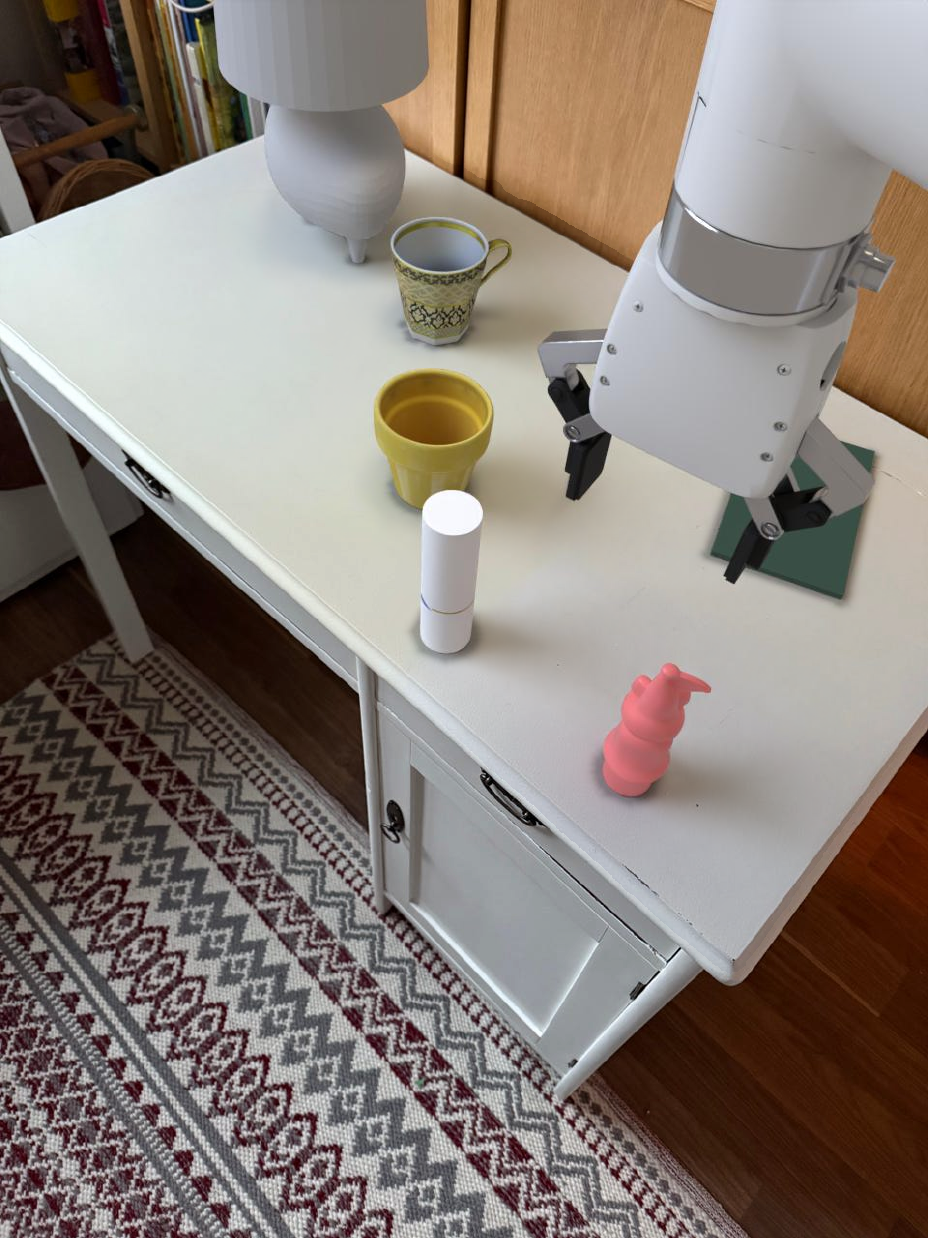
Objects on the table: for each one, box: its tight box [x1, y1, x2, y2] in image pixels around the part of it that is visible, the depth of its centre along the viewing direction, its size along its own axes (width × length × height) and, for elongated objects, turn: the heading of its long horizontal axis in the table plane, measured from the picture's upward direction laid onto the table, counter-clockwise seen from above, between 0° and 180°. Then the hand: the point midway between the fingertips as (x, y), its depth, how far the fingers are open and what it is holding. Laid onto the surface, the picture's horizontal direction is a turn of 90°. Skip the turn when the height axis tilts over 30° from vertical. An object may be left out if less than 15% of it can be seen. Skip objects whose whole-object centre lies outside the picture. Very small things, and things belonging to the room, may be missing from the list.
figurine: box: [602, 662, 712, 797], centre depth 64 cm, size 5×5×15 cm
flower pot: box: [373, 367, 495, 510], centre depth 82 cm, size 10×10×10 cm
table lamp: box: [212, 0, 430, 264], centre depth 93 cm, size 23×22×40 cm
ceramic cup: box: [389, 216, 513, 347], centre depth 96 cm, size 13×10×10 cm
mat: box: [709, 439, 876, 600], centre depth 87 cm, size 12×20×1 cm, turn 157°
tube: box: [419, 490, 484, 654], centre depth 70 cm, size 4×4×15 cm
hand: (659, 524), depth 50 cm, fingers open, 9 cm apart
